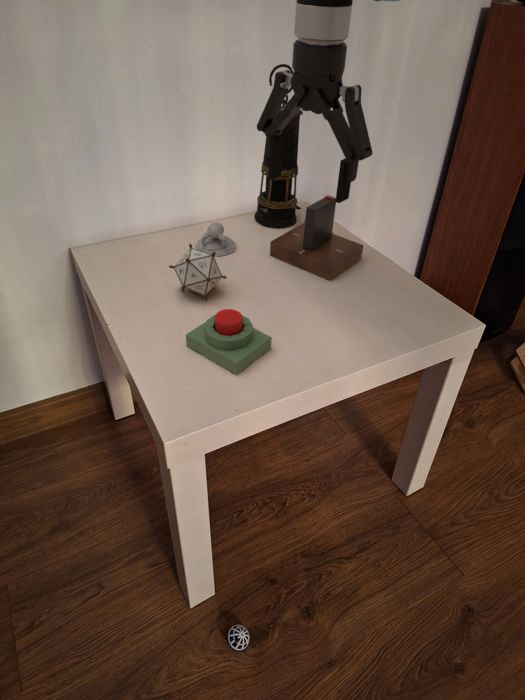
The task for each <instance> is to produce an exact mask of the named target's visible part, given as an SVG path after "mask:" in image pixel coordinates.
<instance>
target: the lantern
mask: <svg viewBox="0 0 525 700" xmlns="http://www.w3.org/2000/svg"><path fill="white" fill-rule="evenodd" d="M280 68H286V69H287V70H289V71H290V72H291V74H294V69H293V68H292V66H290V65H289V64H286V63H281V64H277V65H276V66H274V67H273V68H272V70H271V71H270V73H269V78H268V83H269V86H270V87H273V75H274V73H275V72H276V71H277V70H278V69H280ZM292 91H293V89H292V86H291V87H290V88H289V89H288V92H287V94H286V96H285V99H284V101H283V103H282V105H281V107H280V109H279V111H278V113H277V116H276V118H277V117H278V115H279V114H280V113H281V112H282V111H283V109H284V108H285V107H286V106H287V103H288V101H289V94H290V93H291V92H292ZM303 114H304V111H303V110H302V109H300V110H299V111H298V113H297V114H296V115H295V116H294V117H293V118H292V120H291V121H290V122H289V123H288V124H287V125H286V127H285V128H284V129H283V130H282V131H281V132H282V133H281V132H280V133H281V134H279V135H278V136H283V137H284V141H283V158H282V175H281V176H280V177H277V178H275V179H273V180H270V179H268V171H269V157H267V155H266V144H267V137H266V136H265V143H264V152H263V153H264V154H263V159H262V163H261V168H260V169H261V170H260V172H261V180H260V187H259V188H260V189H259V195H258V196H257V198H256V199H257V204H256V205H257V206H256V211H255V213H254V220H255V222H256V223H258V224H259V225H261V226H263V227H265V228H270V229H286V228H290V227H293V226H294V225H296V224H297V221H298V217H297V215H296V211H297V210H298V211H300V210H301V206H299V205H297V204H298V199H297V178H298V177H297V176H298V175H299V165H298V157H299V155H298V154H299V139H300V138H299V137H300V121H301V116H302V115H303ZM276 118H275V119H276ZM264 177H265V190H264V191H263V187H264V186H263V185H264ZM293 179H294V180H293ZM293 181H294V183H293ZM293 185H294V186H293ZM292 188H294V189H293V193H292Z"/></svg>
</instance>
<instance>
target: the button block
mask: <svg viewBox="0 0 525 700" xmlns="http://www.w3.org/2000/svg"><path fill="white" fill-rule="evenodd" d="M215 315H216V314H214V315H212V316H211V317H209V318H208V319H206V321H205V322H203V323H202V324H200V325H199V326H197V327H195V328H194V329H192V330H190V331H189V332H188V333H186V334H185V344H186V347H187V348H189V349H191V350H193V351H194V352H196V353H198V354H199V355H201V356H203V357H205V358H206V359H208V360H210V361H211V362H214V363H215V364H217V365H218V366H220V367H222V368H224V369H225V370H227V371H229V372H230V373H232V374H234V375H235V376H236V375H238V374H240V373H241V372H243V371H244V370H245V369H246V368H247V367H249V366H250V365H251V364H253V363H254V362H255V361H257V360H258V359H260V358H261V357H262V356H263V355H265V354H266V353H267V352H268V351H270V350H271V349H272V336H270V335H268V334H266V333H264V332H262V331H260V330H259V329H257V328H254V325H253V323H252V321H251V319H250V318H248V317H246V316H245V315H243V314H242V317H243V318H242V331H241V332H240V333H239V334H237V335H232V336H226V335H220V334H219V333H217V332H216V330H215Z"/></svg>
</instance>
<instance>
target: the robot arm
mask: <svg viewBox="0 0 525 700" xmlns="http://www.w3.org/2000/svg"><path fill="white" fill-rule="evenodd" d="M373 1H374V2H376V3H377V2H400V1H401V0H373ZM353 2H354V0H296V1H295V14H294V26H293V27H294V28H293V35H294V36H295V38H297V39H296V40H295V41H294V42H293V46H292V61H291V68H292V70H293V73H294V74H291V71H290V70H289V69H285V70H280V71H277V72H276V73H275V74H274V80H273V86H272V89H271V92H270V94H269V97H268V99H267V101H266V103H265V105H264V108H263V110H262V112H261V115H260V117H259V119H258V122H257V124H256V130H257V131H258V132H262V133H263V134H264V136H265V138H266V137H267V144H266V155H267V157H269V171H268V179H270V180H273V179H275V178H277V177H280V176H281V175H282V158H283V141H284V137H283V136H278V135H279V134H281V133H282V132H281V131H282V130H283V129H284V128H285V127H286V125H287V124H288V123H289V122H290V121H291V120H292V118H293V117H294V116H295V115H296V114H297V113H298V111H299V110H302V112H312V113H313V114H315V115H322V117H323V118H324V120H326V121H327V122H328V124H329V126H330V128H331V130H332V134H333V135H334V138H335V139H336V141H337V144H338V146H339V147H340V149H341V152H342V154H343V156H344V158H342V159H341V160H340V162H339V163H340V164H339V171H338V177H337V178H338V179H337V186H336V187H337V188H336V194H335V199H336V201H335V202H336V204H341V203H343V202H345V201H347V200H349V198H350V192H351V187H352V185H351V184H352V182H354V181H356V179H357V176H358V171H359V162H360V161H364V160H365V159H367V158H370V157H372V155H373V148H372V144H371V139H370V136H369V131H368V127H367V122H366V118H365V114H364V110H363V106H362V86H361V85H360V84H355V85H352V86H350V85H344V83H343V76H344V72H345V68H346V62H347V52H348V45H347V44H346V43H345V42H344V41H347V39H348V38H349V33H350V25H351V17H352V8H353ZM291 86H292V91H293V95H292V96H291V97H290V99H288V102H287V106H286V105H285V106H286V107H285V108H284V109H283V111H282V112H281V113H280V114H279V115H278V117H277V118H276V116H277V113H278V111H279V109H280V107H281V106H283V104H282V103H283V101H284V100H285V99H286V94H287V92H288V90H289V89H290V88H291ZM340 98H341V101H342V102H343V103H344V109H345V115H346V117H345V115H344V109H343V107H342V104H341V102H340V100H339V99H340ZM275 118H276V119H275ZM346 118H347V119H346ZM280 132H281V133H280Z"/></svg>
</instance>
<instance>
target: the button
mask: <svg viewBox="0 0 525 700" xmlns="http://www.w3.org/2000/svg"><path fill="white" fill-rule="evenodd" d="M214 315H215V330H216V332H217V333H219V334H220V335H226V336H232V335H237V334H239V333H240V332H241V331H242V318H243V317H242V315H243V314H242V313H241V312H240V311H239V310H236V309H234V308H233V309H232V308H224V309H221V310H218V312H216V313H215V314H214Z"/></svg>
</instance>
